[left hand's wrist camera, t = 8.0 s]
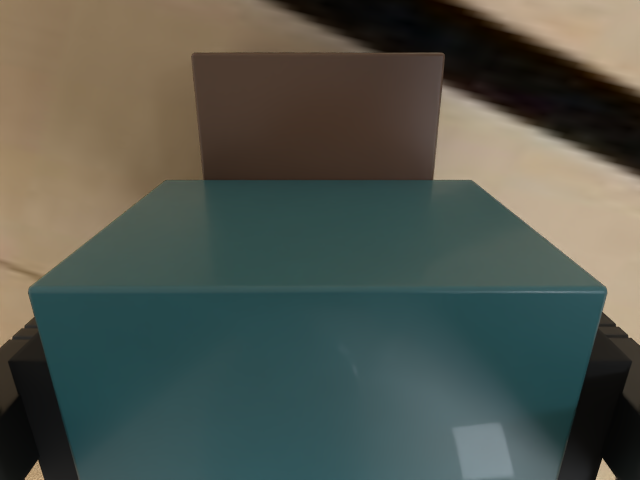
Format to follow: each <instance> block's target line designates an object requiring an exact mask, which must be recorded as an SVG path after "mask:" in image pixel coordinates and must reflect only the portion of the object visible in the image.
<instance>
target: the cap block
mask: <svg viewBox="0 0 640 480" xmlns="http://www.w3.org/2000/svg"><path fill="white" fill-rule="evenodd" d="M28 294H29V298H30V302H31V305H32V309H33V313H34V316H35V320H36V324H37V327H38V331H39V335H40V339H41V342H42V346H43V350H44V353H45V357H46V361H47V364H48V368H49V372H50V375H51V379H52V383H53V387H54V390H55V394H56V398H57V401H58V405H59V409H60V412H61V416H62V420H63V423H64V427H65V431H66V435H67V438H68V442H69V446H70V449H71V453H72V457H73V460H74V464H75V468H76V471H77V475H78V479H79V480H557V479H558V476H559V472H560V468H561V464H562V461H563V457H564V453H565V449H566V446H567V442H568V438H569V434H570V431H571V427H572V423H573V419H574V416H575V412H576V408H577V404H578V401H579V397H580V393H581V389H582V386H583V382H584V378H585V375H586V371H587V367H588V363H589V360H590V356H591V352H592V348H593V345H594V341H595V337H596V333H597V330H598V326H599V322H600V318H601V315H602V311H603V307H604V303H605V300H606V296H607V289H606V287H605V286H604V285H603V284H601V283H600V282H599V281H598V280H596V279H595V278H594V277H593V276H591V275H590V274H589V273H588V272H586V271H585V270H584V269H583V268H581V267H580V266H579V265H578V264H576V263H575V262H574V261H573V260H571V259H570V258H569V257H568V256H566V255H565V254H564V253H563V252H561V251H560V250H559V249H558V248H556V247H555V246H554V245H553V244H551V243H550V242H549V241H548V240H546V239H545V238H544V237H543V236H541V235H540V234H539V233H538V232H536V231H535V230H534V229H532V228H531V227H530V226H529V225H527V224H526V223H525V222H524V221H522V220H521V219H520V218H519V217H517V216H516V215H515V214H514V213H512V212H511V211H510V210H509V209H507V208H506V207H505V206H504V205H502V204H501V203H500V202H499V201H497V200H496V199H495V198H494V197H492V196H491V195H490V194H489V193H487V192H486V191H485V190H484V189H482V188H481V187H480V186H479V185H477V184H476V183H475V182H474V181H472V180H166V181H164V182H163V183H161V184H160V185H159V186H157V187H156V188H155V189H154V190H152V191H151V192H150V193H149V194H147V195H146V196H145V197H143V198H142V199H141V200H140V201H138V202H137V203H136V204H135V205H133V206H132V207H131V208H129V209H128V210H127V211H126V212H124V213H123V214H122V215H121V216H119V217H118V218H117V219H115V220H114V221H113V222H112V223H110V224H109V225H108V226H107V227H105V228H104V229H103V230H101V231H100V232H99V233H98V234H96V235H95V236H94V237H93V238H91V239H90V240H89V241H87V242H86V243H85V244H84V245H82V246H81V247H80V248H79V249H77V250H76V251H75V252H73V253H72V254H71V255H70V256H68V257H67V258H66V259H65V260H63V261H62V262H61V263H59V264H58V265H57V266H56V267H54V268H53V269H52V270H51V271H49V272H48V273H47V274H45V275H44V276H43V277H42V278H40V279H39V280H38V281H37V282H35V283H34V284H33V285H31V286H30V288H29V291H28Z"/></svg>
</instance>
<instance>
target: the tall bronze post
mask: <svg viewBox="0 0 640 480" xmlns="http://www.w3.org/2000/svg"><path fill="white" fill-rule="evenodd" d="M191 58H192V69H193V79H194V89H195V99H196V110H197V120H198V130H199V140H200V151H201V161H202V171H203V180H433V176H434V165H435V155H436V144H437V134H438V123H439V113H440V103H441V92H442V82H443V71H444V61H445V55H444V54H443V53H193V54H192V56H191Z"/></svg>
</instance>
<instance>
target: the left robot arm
mask: <svg viewBox="0 0 640 480" xmlns="http://www.w3.org/2000/svg"><path fill="white" fill-rule="evenodd" d="M602 458H603V459H604V461H605V462H606V464H607V465H608V466H609V468H610V469H611V471H612V472H613V473H614V475H615V476H616V479H615V480H640V345H639V344H637V343H636V342H635V341H634V340H633V339H632V338H628V335H627V334H626V333H625V332H624V331H623V330H622V329H621V328H620V327H616V324H615V323H614V322H613V321H612V320H611V319H610V318H608V317H607V316H606V315H605V314H604V313H603V312H602V315H601V318H600V322H599V326H598V330H597V333H596V337H595V341H594V345H593V348H592V352H591V356H590V360H589V363H588V367H587V371H586V375H585V378H584V382H583V386H582V389H581V393H580V397H579V401H578V404H577V408H576V412H575V416H574V419H573V423H572V427H571V431H570V434H569V438H568V442H567V446H566V449H565V453H564V457H563V461H562V464H561V468H560V472H559V476H558V479H557V480H596V477H597V473H598V470H599V467H600V464H601V461H602ZM37 460H38V461H39V464H40V467H41V470H42V473H43V477H44V480H79V479H78V475H77V471H76V468H75V464H74V460H73V457H72V453H71V449H70V446H69V442H68V438H67V435H66V431H65V427H64V423H63V420H62V416H61V412H60V409H59V405H58V401H57V398H56V394H55V390H54V387H53V383H52V379H51V375H50V372H49V368H48V364H47V361H46V357H45V353H44V350H43V346H42V342H41V339H40V335H39V331H38V327H37V324H36V320H35V317H34V318H33V319H32V320H30V321H29V322H28V323H27V324H26V325H25V328H22V329H20V330H19V331H18V332H17V333H16V334H15V335H14V336H13V337H12V340H8V341H7V342H6V343H5V344H4V345H3V346H2V347H1V348H0V480H25V477H26V476H27V475H28V473H29V472H30V470H31V469H32V467H33V466H34V465H35V463H36V462H37Z"/></svg>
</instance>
